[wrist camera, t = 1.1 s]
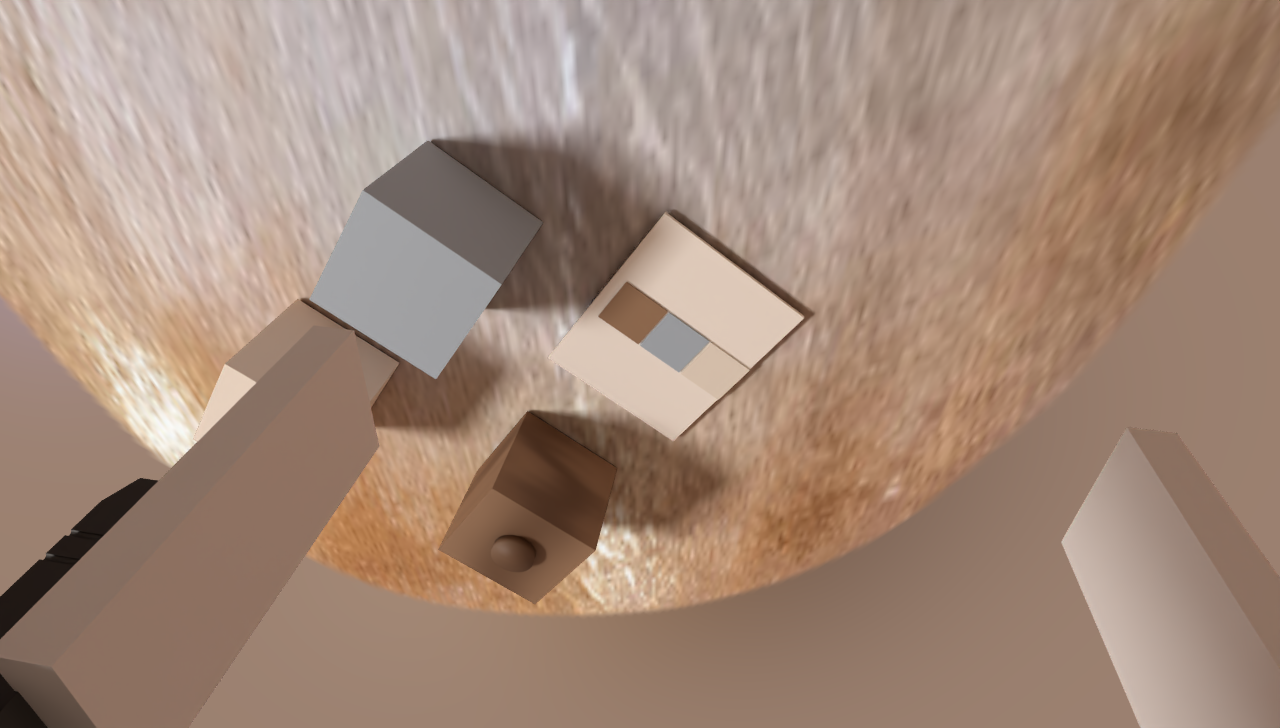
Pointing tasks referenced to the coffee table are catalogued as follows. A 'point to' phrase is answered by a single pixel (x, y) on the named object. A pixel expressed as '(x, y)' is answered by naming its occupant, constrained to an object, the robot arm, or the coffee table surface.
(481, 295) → the slate brick
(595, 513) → the walnut base brick
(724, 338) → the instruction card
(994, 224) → the coffee table surface
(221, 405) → the cream brick
